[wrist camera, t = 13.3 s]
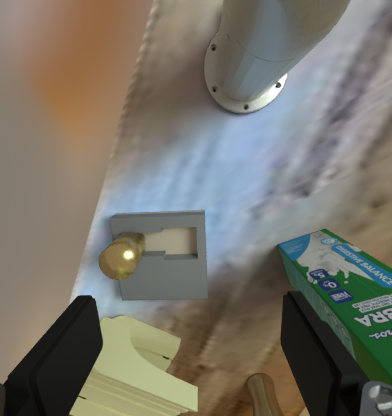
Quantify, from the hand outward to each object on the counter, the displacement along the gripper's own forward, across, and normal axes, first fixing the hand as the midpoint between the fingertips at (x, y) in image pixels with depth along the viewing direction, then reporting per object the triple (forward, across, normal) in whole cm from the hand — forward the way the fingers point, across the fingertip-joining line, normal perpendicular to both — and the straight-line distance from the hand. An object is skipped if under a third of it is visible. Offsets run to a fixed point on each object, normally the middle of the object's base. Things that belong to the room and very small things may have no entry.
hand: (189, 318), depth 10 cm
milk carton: (+28, -20, +12) cm, 37 cm away
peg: (+27, +12, +7) cm, 30 cm away
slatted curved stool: (+28, +15, +32) cm, 46 cm away
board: (+28, +7, +10) cm, 31 cm away
